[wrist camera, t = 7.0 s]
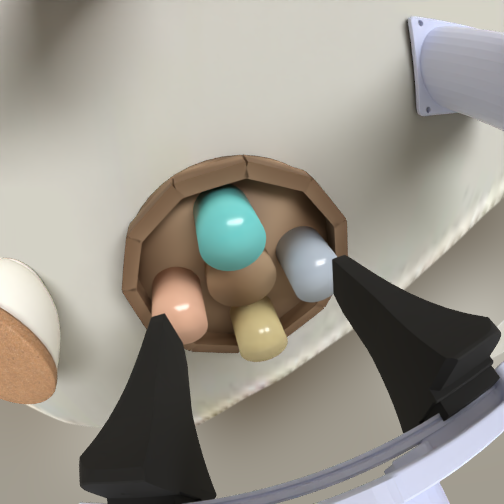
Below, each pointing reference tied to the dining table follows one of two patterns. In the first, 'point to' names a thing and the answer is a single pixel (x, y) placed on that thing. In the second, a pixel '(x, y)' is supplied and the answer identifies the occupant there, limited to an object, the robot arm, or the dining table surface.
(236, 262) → the bead teal
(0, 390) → the lidded jar
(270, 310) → the bead mustard
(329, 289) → the bead slate
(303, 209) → the ring tray
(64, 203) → the dining table surface
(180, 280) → the bead terracotta
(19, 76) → the dining table surface
